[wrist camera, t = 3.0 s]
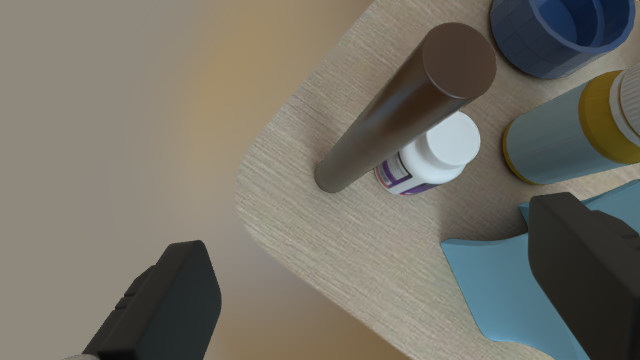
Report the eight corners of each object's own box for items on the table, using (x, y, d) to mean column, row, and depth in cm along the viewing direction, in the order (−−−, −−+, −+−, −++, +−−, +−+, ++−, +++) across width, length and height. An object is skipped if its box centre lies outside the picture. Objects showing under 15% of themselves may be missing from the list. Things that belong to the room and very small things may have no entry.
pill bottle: (436, 154, 39) (499, 120, 29) (417, 206, 37) (476, 189, 28) (384, 128, 38) (432, 86, 29) (363, 181, 37) (405, 154, 27)
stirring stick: (309, 186, 36) (412, 80, 15) (320, 154, 36) (432, 9, 15) (342, 197, 36) (488, 110, 15) (352, 165, 37) (504, 39, 16)
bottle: (536, 104, 42) (694, 22, 27) (575, 164, 41) (757, 112, 27) (485, 137, 40) (624, 68, 25) (525, 199, 39) (691, 165, 25)
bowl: (476, 57, 41) (515, 24, 36) (498, -34, 44) (538, -79, 38) (574, 96, 43) (627, 71, 37) (590, 5, 45) (641, -32, 39)
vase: (487, 348, 36) (988, 531, 12) (439, 242, 37) (814, 213, 13) (573, 299, 38) (1137, 369, 14) (526, 201, 39) (979, 111, 15)
